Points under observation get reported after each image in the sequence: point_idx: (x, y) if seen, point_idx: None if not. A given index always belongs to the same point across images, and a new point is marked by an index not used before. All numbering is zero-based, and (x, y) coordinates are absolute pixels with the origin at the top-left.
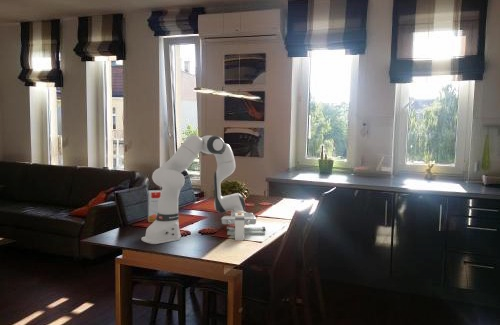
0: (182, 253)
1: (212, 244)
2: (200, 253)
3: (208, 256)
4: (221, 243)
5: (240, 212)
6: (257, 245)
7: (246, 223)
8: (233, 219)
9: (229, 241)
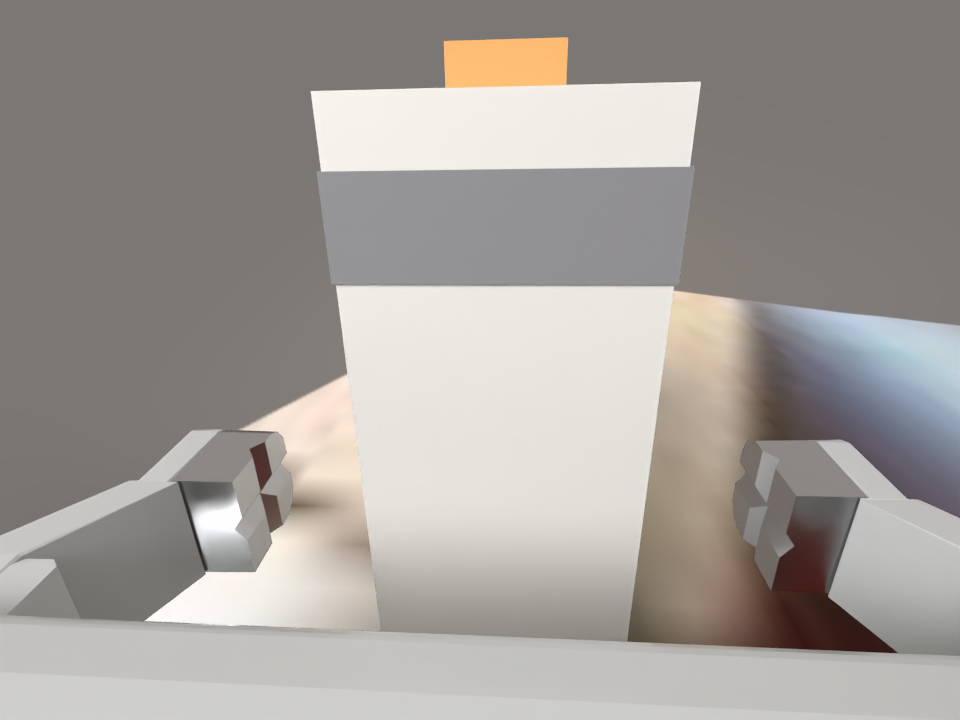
0: (932, 324)
1: (833, 436)
2: (799, 323)
3: (717, 302)
4: (740, 456)
5: (475, 40)
6: (335, 406)
7: (278, 466)
8: (866, 667)
9: (658, 510)
